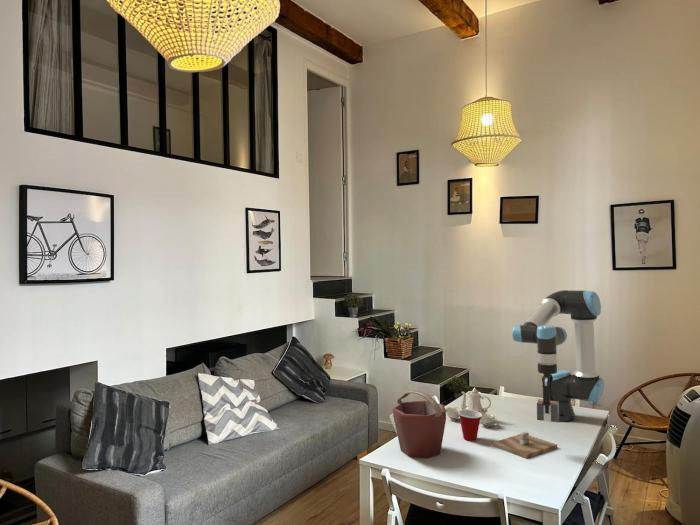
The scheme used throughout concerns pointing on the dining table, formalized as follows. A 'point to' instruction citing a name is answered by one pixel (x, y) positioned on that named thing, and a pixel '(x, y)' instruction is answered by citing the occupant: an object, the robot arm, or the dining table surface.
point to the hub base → (524, 445)
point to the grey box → (553, 410)
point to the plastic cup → (469, 423)
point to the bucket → (420, 426)
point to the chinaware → (472, 408)
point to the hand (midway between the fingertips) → (548, 418)
